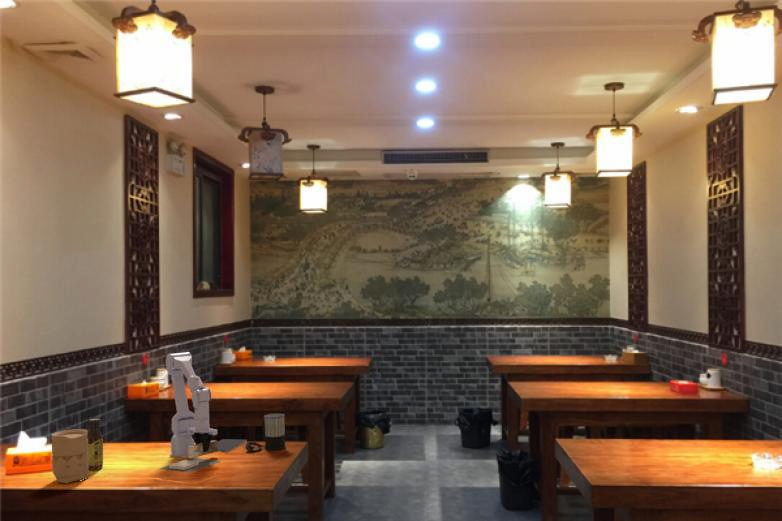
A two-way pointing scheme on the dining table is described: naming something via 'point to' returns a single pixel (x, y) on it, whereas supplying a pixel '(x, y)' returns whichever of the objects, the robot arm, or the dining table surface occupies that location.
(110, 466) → the dining table surface
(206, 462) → the slate mat
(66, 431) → the container
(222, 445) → the notebook
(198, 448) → the long wooden beam
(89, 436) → the sauce bottle
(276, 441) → the milk frother
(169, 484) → the dining table surface
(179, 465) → the tile
